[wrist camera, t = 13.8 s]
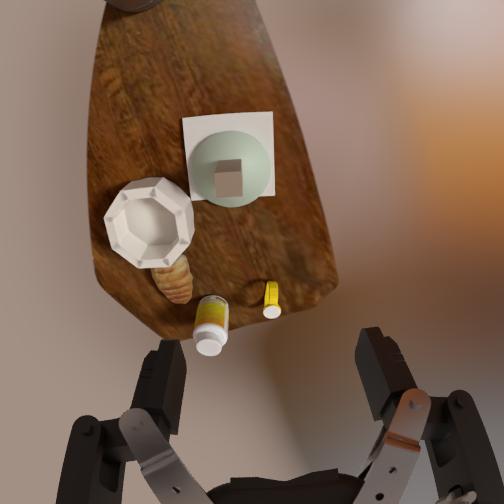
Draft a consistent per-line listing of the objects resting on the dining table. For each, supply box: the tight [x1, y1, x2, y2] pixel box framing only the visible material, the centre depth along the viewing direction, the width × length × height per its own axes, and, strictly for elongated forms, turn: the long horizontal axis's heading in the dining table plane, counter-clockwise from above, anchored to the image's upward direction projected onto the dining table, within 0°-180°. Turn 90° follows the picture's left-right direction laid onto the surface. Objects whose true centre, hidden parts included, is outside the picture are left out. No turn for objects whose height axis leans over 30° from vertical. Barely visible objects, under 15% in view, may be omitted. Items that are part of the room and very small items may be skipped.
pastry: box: [151, 254, 193, 304], centre depth 48 cm, size 9×7×4 cm
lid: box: [191, 131, 271, 207], centre depth 36 cm, size 11×11×8 cm
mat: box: [182, 112, 275, 201], centre depth 39 cm, size 12×12×1 cm
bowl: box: [104, 177, 195, 268], centre depth 41 cm, size 12×12×6 cm
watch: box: [263, 281, 281, 318], centre depth 48 cm, size 6×3×6 cm, turn 174°
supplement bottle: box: [193, 295, 229, 356], centre depth 48 cm, size 6×6×10 cm
